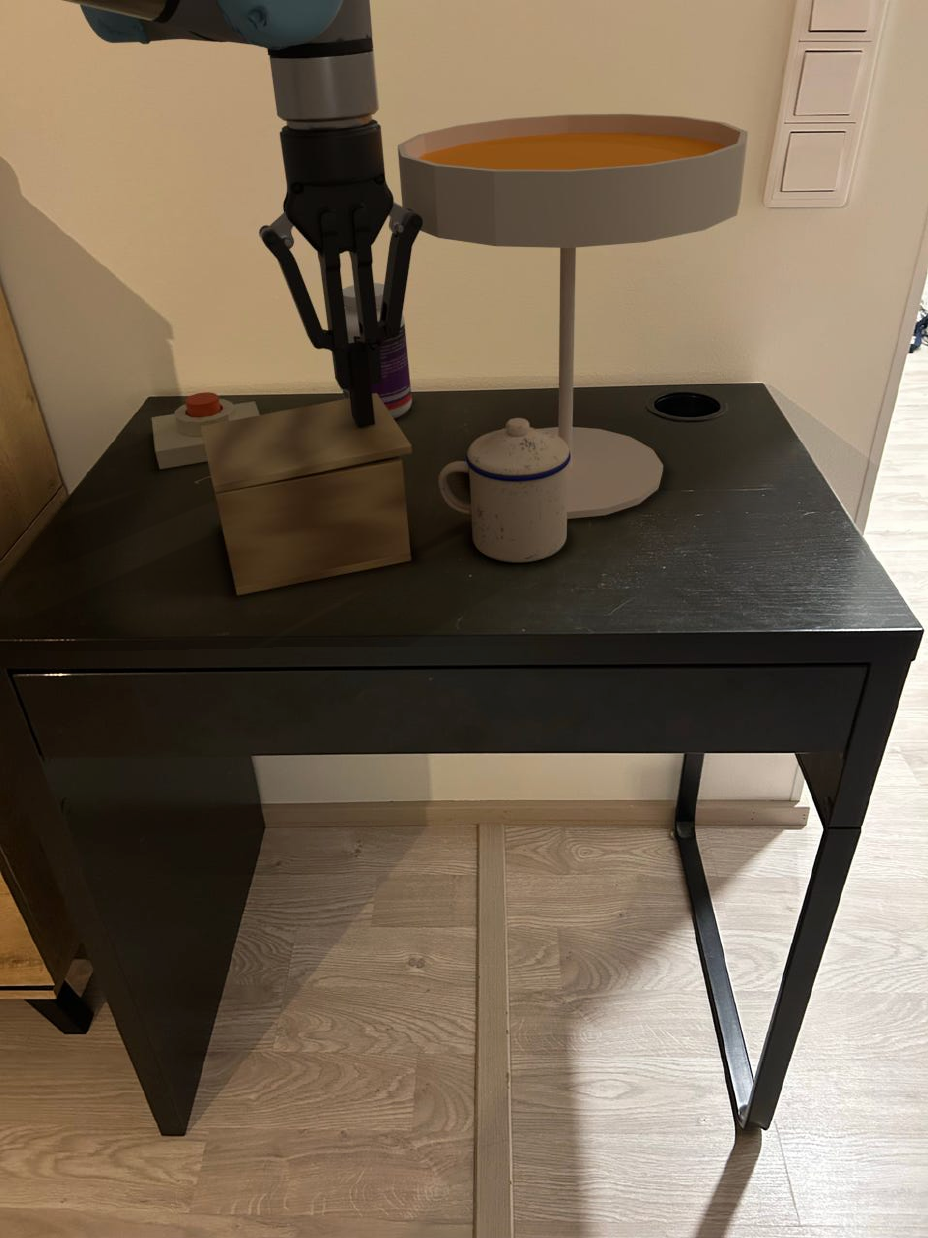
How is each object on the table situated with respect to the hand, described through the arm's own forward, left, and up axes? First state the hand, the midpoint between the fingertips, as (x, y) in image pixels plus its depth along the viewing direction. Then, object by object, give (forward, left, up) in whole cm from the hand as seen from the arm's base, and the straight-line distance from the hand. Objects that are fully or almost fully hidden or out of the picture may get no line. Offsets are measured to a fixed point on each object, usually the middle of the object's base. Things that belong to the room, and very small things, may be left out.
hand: (363, 419), depth 84 cm
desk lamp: (+21, +5, -12) cm, 25 cm away
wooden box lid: (-6, 0, -1) cm, 6 cm away
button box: (-13, +27, -11) cm, 32 cm away
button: (-13, +27, -8) cm, 31 cm away
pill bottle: (+7, +28, -12) cm, 32 cm away
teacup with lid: (+11, -6, -12) cm, 17 cm away
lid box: (-6, 0, -11) cm, 13 cm away
